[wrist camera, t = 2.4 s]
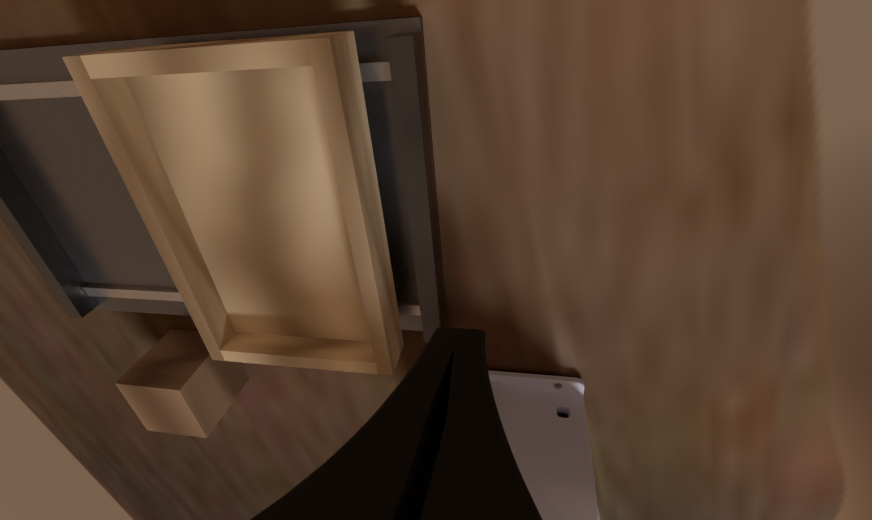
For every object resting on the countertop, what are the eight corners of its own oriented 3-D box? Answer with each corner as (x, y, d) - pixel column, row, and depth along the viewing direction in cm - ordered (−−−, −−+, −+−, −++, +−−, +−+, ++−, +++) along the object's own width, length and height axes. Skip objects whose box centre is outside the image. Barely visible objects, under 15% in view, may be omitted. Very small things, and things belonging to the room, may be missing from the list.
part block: (228, 332, 29) (179, 390, 25) (249, 378, 31) (207, 438, 27) (171, 328, 30) (114, 383, 26) (196, 373, 32) (147, 430, 28)
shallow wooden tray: (360, 28, 16) (329, 37, 14) (406, 335, 25) (392, 375, 22) (125, 46, 18) (61, 56, 16) (242, 324, 27) (212, 359, 24)
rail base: (421, 16, 17) (411, 19, 15) (447, 328, 25) (442, 349, 24) (-65, 55, 21) (-109, 60, 20) (96, 305, 30) (73, 322, 28)
